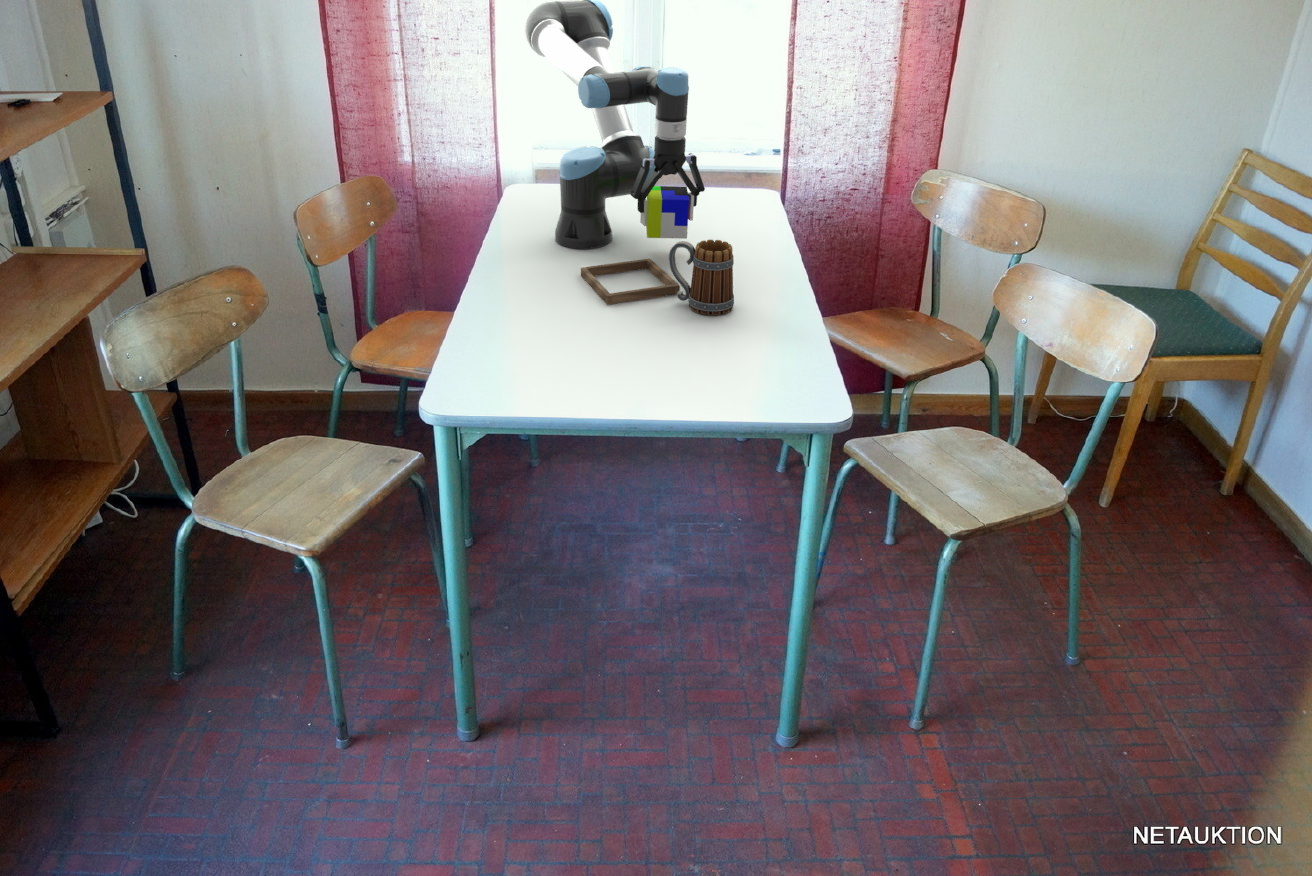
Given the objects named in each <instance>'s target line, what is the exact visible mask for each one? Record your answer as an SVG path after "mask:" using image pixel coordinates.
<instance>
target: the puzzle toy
mask: <svg viewBox="0 0 1312 876" xmlns="http://www.w3.org/2000/svg"><path fill="white" fill-rule="evenodd" d="M688 192H689V191H688V187H687V186H677V185H676V186H675V185H674V186H672V185H671V186H670V185H669V186H668V185H654V187H653V188H652V190H651V191H650V193H649V194H648V196H647V197H646V200H648V216H647V226H645V228H646V238H647V239H679V240H682V239H684V240H685V239H688V230H689V229H688V228H689V227H688V226H689V225H688V224H689V219H688V211H689V197H688Z"/></svg>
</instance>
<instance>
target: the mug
mask: <svg viewBox="0 0 1312 876" xmlns="http://www.w3.org/2000/svg"><path fill="white" fill-rule="evenodd" d="M679 248H684V249H685V250H687V251H688V253H689V258H688V259H687V260H686V264H687V265H688V266H690V265H691V264H693V266H692V275H691V280H690V281H691V284H690V283H689V282H688V281H687V280H686V279H685V278H684V277H683V275H682V274H681V272H680V270H679V268H678V267H677V263H676V252H677V249H679ZM734 261H735V260H734V255H733V245H732V244H731V243H729V242H728V241H725V240H724V241H722V240H721V239H715V241H714V239H707V240H701V241H700V242H697V243H696V245H695V246H694V245H693V244H692V243H690V241H689V242H688V241H685V240H682V241H681V240H680V241H678V242H676V243H674V245H673V246H672V247H671V248H670V250H669V254H668V263H669V268H670V272H671V274H672V276H673V277H674V280H675V281H676V282H677V283H678V284H679V285H680V287H682V288H683V290H684V291H682V290H680V291H678V293H677V294H676V297H677V299H678V300H680V301H681V302H682V301H683V302H685V301H687V302H688V307H689V309H690V310H691V311H693V312H694V313H697V314H699V315H702V316H708V317H710V316H711V317H716V316H722V315H725V314H728V313H730V312H731V311H732V310H733V308H734V304H735V295H734V276H733V275H734V272H733V271H734V270H733V269H734V267H733V266H734ZM684 292H685V293H684Z"/></svg>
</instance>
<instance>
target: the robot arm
mask: <svg viewBox="0 0 1312 876" xmlns="http://www.w3.org/2000/svg"><path fill="white" fill-rule="evenodd" d="M612 26H613V19H612V15H611V13H610V11H609V9H608V8H607V6H606V5H605V4H604V3H603V2H602V1H601V0H555V1H554V0H552V1H551V0H550V1H545V2H541V3H539V4H537V5H536V6H535V7H533V8H532V9H531V11H530V12H529V14H528V15H527V16H526V19H525V24H524V35H525V39H526V41H527V44H528V46H529V47H530V48H531V49H532V50H533V51H534V53H536V54H537V55H538V56H541V57H542V58H544V57H545V58H547V59H548V60H550V61H551V63H552V64H553V65H554V66H555V67H557V69H558V70H560V71H561V72H562V73H563V74H564V75H565V76H566V77H568V79H569V80H570V81H571V82H572V83H574V84H575V85H576V86H577V93H578V98H579V100H580V102H581V104H582V106H583V107H585V108H587V109H591V111H592V114H593V117H594V120H595V123H596V126H597V129H598V133H599V135H600V136H599V137H600V139H601V141H602V144H601V146H600V147H598V146H581V147H575V148H573V149H570V150H568V151H567V152H566V151H565V153H564V154H563V155H562V156H561V158H560V162H559V175H558V176H559V184H560V185H559V189H560V206H561V207H560V213H559V217H558V220H557V224H556V226H555V231H554V235H555V236H554V239H555V240H554V241H555V242H556V243H557V244H558V245H560V246H563V247H566V248H569V249H570V248H571V249H579V250H585V249H586V250H589V249H596V248H602V247H604V246H606V245H608V244H610V243H612V241H613V229H612V227H611V223H610V220H609V218H608V214H607V211H606V199H609V198H616V197H622V196H627V195H630V196H631V197H632V198H633V199H635V200H637V211H638V212H639V214H640V221H639V222H640V224H641V225H642V226H643V227H646V226H647V216H648V200H647V196H648V194H649V193H650V191H651V190H652V188H653V187H654V186H656V184H657V182H658V181H659V179H662V178H663V176H669V175H673V176H674V175H677V174H678V176H679V177H680V178H681V180H682V181H683V184H685V187H687V190H689V191H690V192H689V191H688V197H689V211H688V221H693V220H694V207H696V206H697V204H698V203H697V202H698V196H699V195H700V193H701V192H702V193H704V192H705V190H706V187H705V185H704V183H703V179H702V176H701V173H700V170H699V168H698V167H699V166H698V165H697V159H698V158H697V155H695V154H693V152H690V153H688V154H685V152H686V144H687V143H686V142H687V141H686V136H687V119H688V117H687V116H688V104H689V103H688V102H689V91H690V86H689V73H688V71H686V70H685V69H684V68H680V67H679V68H678V67H673V66H672V67H671V66H670V67H663V68H660V69H658V70H657V69H655V67H652V66H646V65H638V66H636V67H634V68H633V69H632V70H629V71H620V72H618V71H617V72H614V69H613V66H612V63H611V59H610V57H609V54H608V52H607V51H608V49H609V48H610V46H611V40H612V38H613V33H614V28H613V27H612ZM642 103H649V104H651V105H653V106H655V120H654V122H655V124H654V134H655V137H654V148H653V147H652V146H650V145H644V143H643V139H642V137H641V136H640V135H639V134H637V133H636V132H635V133H634V130H633V127H632V124H631V121H630V118H629V115H628V114H629V113H628V112H627V108H626V105H632V104H633V105H634V104H642ZM685 163H687V164H688V166H689V170H690V172H691V175H692V178H693V181H694V183H693V182H692V181H691V179H690V177H689V176H688V174H687V173H686V171H685V169H684V168H683V166H684V164H685ZM694 184H695V185H694Z"/></svg>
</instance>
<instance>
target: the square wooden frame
mask: <svg viewBox="0 0 1312 876" xmlns="http://www.w3.org/2000/svg"><path fill="white" fill-rule="evenodd" d="M642 270H648V271H649V272H650V273H651V274H652V275H653V276H654V277H655V278H657V280H659V282H661V283H662V284H663V285H659V286H652V287H645V288H639V289H632V290H630V289H629V290H626V291H616V292H611V293H610V292H609V291H608V289H607V288H606V287H604V285H603V284H602V283H601V282H600V281H599V280H598V279H597V277H599V276H605V275H607V276H608V275H612V274H620V273H629V272H634V271H642ZM580 277H581V278H582V279H583V280H584V282H585V283H586V284H587V285H588V286H589V287H590V288H591V289H592V290H593V292H595V293H596V295H597V296H598V297H599V298H600V299H601V301H603V302H604V303H605V304H606V306H608V305H616V304H623V303H629V302H635V301H642V300H643V301H644V300H648V299H654V298H655V299H656V298H663V297H668V296H675V295H676V296H677V293H678V291H681V285H680V283H679V282H678V281H677V280H676V279H674V278H673V277H671V275H669V274H668V273H667V272H666V271H665V270H663V269H662V268H661V267H660V265H658V264H657V263H656V262H655V261H654V260H653V259H652V258H651V257H649V258H641V259H634V260H628V261H620V262H613V263H606V264H598V265H591V266H590V265H589V266H583V267H580Z"/></svg>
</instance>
